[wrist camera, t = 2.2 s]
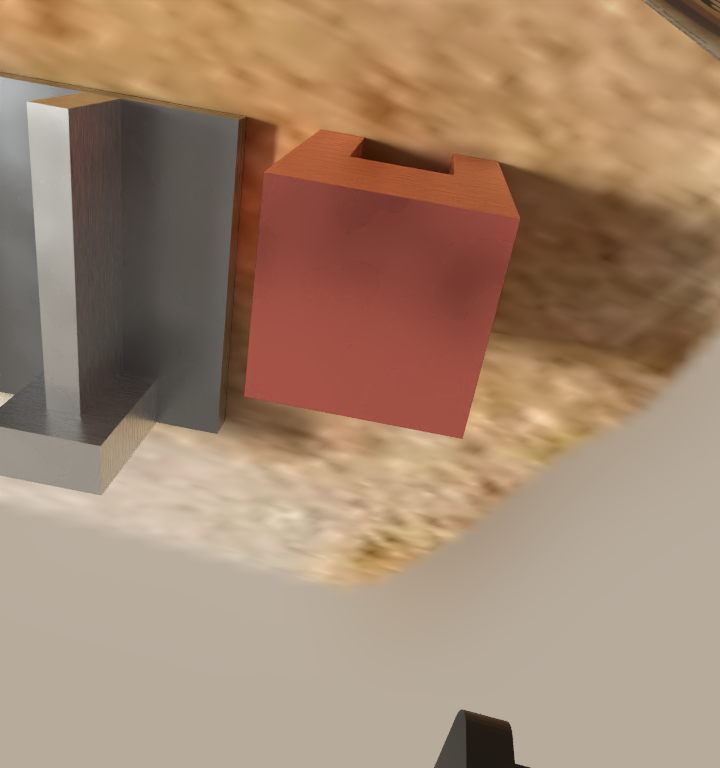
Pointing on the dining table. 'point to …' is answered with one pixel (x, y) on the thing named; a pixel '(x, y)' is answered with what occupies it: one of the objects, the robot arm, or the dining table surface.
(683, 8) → the coffee box
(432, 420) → the block
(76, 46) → the dining table surface
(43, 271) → the bracket
